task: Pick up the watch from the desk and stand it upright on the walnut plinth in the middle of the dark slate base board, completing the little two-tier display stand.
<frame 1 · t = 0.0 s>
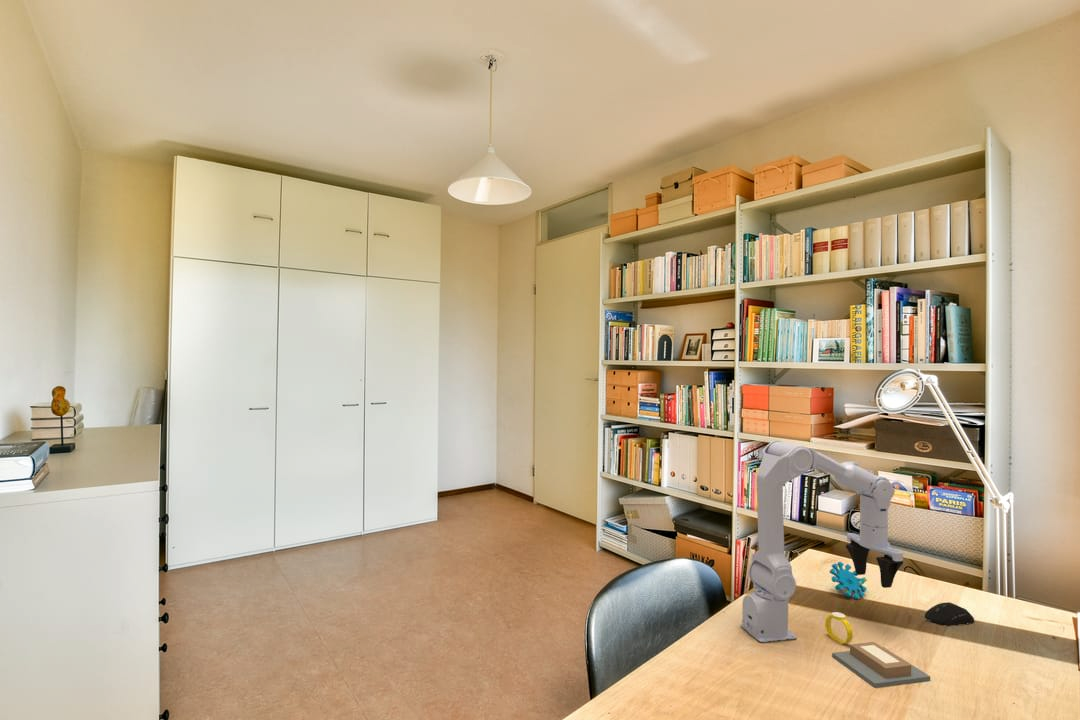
hand: (873, 580, 128), 10 cm above the table, tool pointing down, fingers open, 7 cm apart
gaming mouse: (944, 621, 130), on the table
watch: (838, 641, 119), on the table
base board: (879, 668, 108), on the table
blue virus model: (849, 594, 144), on the table
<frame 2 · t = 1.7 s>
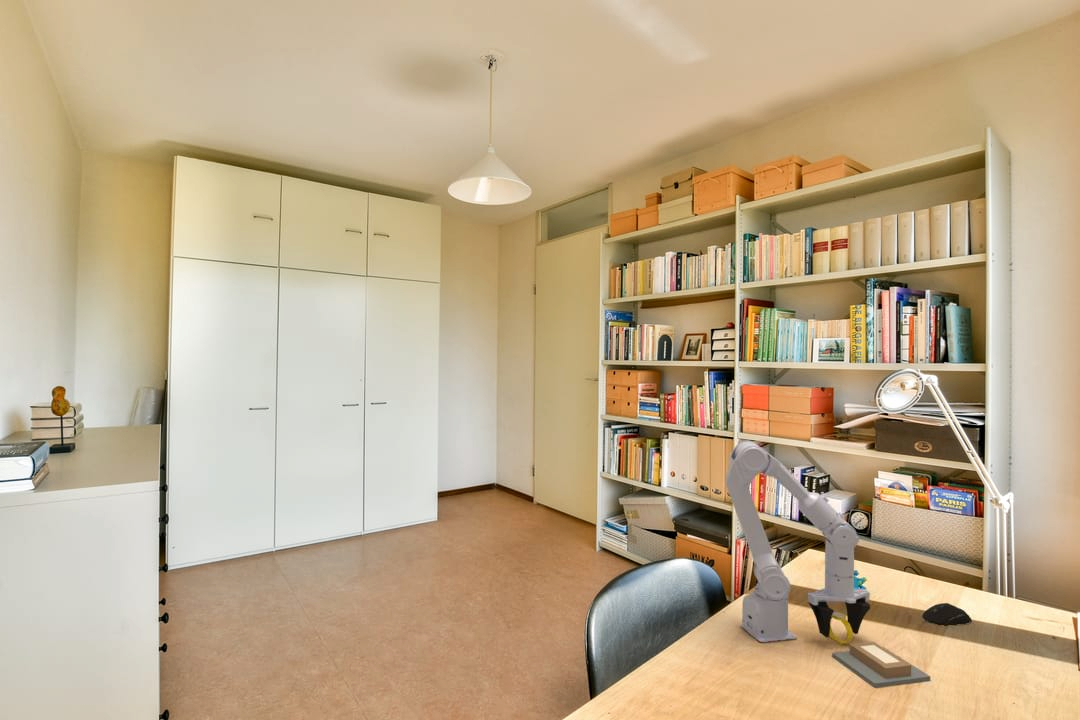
hand: (838, 633, 119), 2 cm above the table, tool pointing down, fingers open, 7 cm apart
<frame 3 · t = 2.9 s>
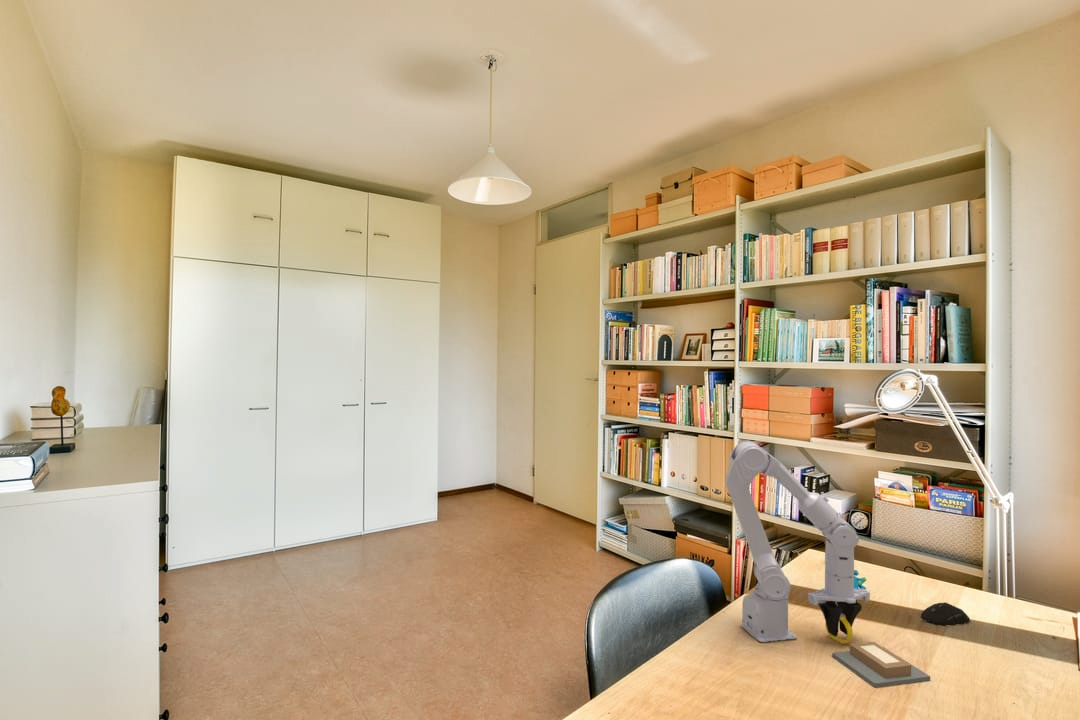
hand: (838, 633, 119), 2 cm above the table, tool pointing down, fingers closed on watch, 3 cm apart
watch: (838, 641, 119), on the table, touching gripper
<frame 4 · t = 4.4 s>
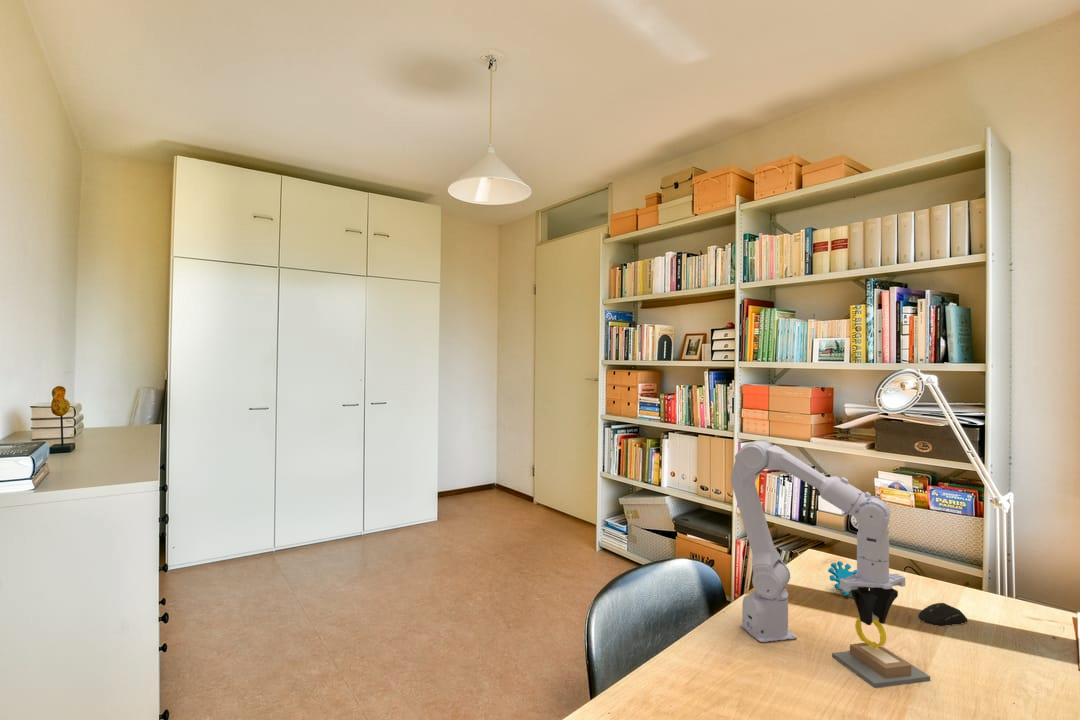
hand: (872, 622, 110), 8 cm above the table, tool pointing down, fingers closed on watch, 3 cm apart
watch: (869, 644, 111), point 3 cm above the table, touching gripper
when the fingers open (6 cm above the table, at t = 5.7 s): watch stays where it is, resting on base board.
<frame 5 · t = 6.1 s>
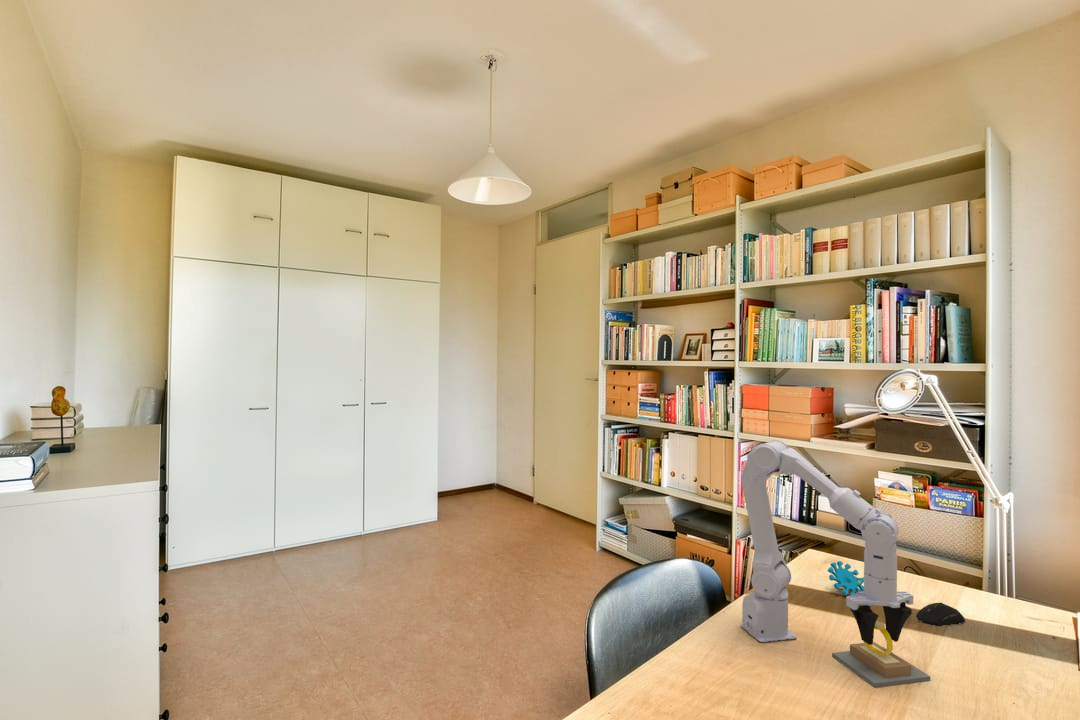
hand: (879, 640, 108), 6 cm above the table, tool pointing down, fingers open, 6 cm apart
watch: (876, 652, 109), point 3 cm above the table, touching base board
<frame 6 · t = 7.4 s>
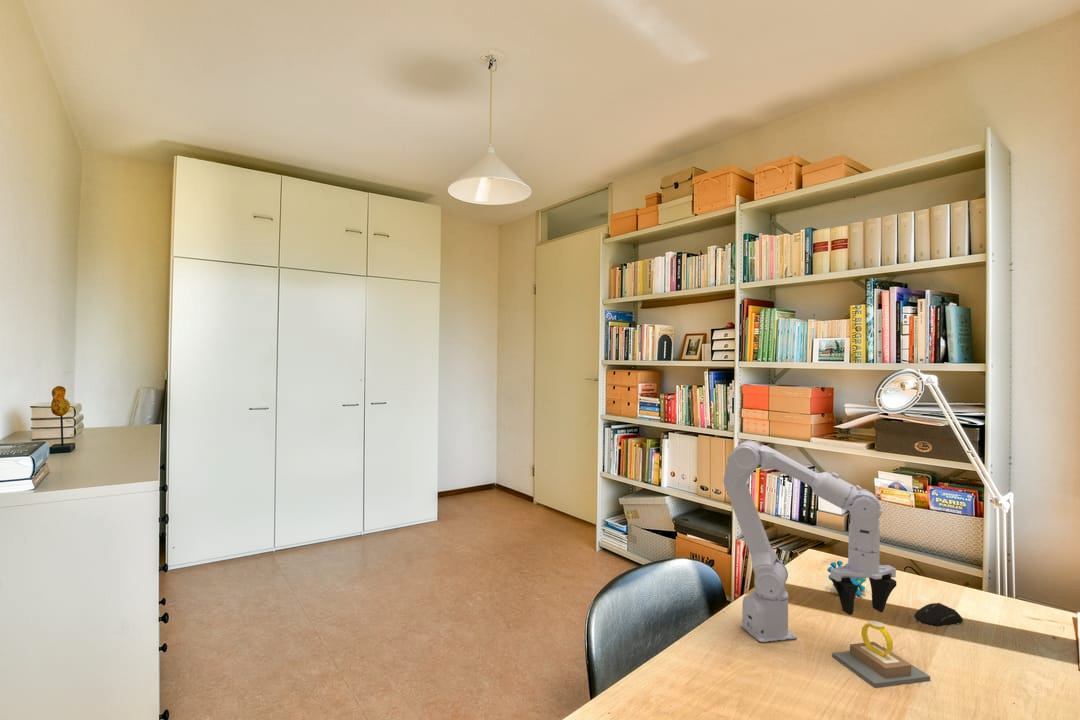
hand: (862, 611, 113), 9 cm above the table, tool pointing down, fingers open, 7 cm apart
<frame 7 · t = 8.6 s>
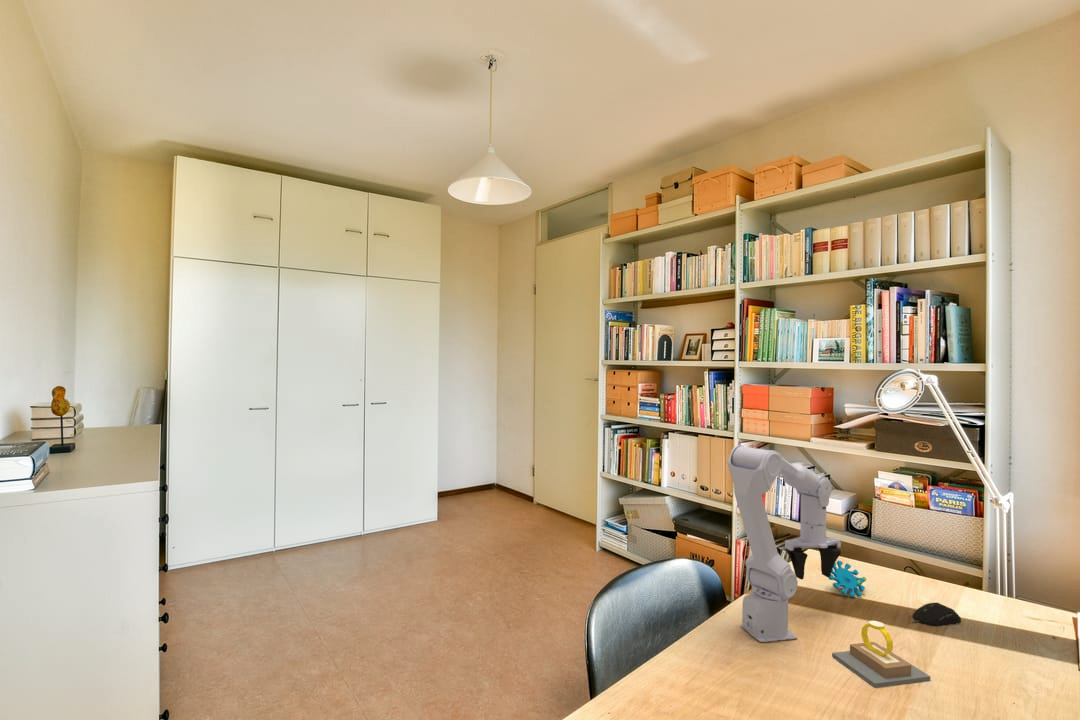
hand: (812, 576, 131), 9 cm above the table, tool pointing down, fingers open, 7 cm apart
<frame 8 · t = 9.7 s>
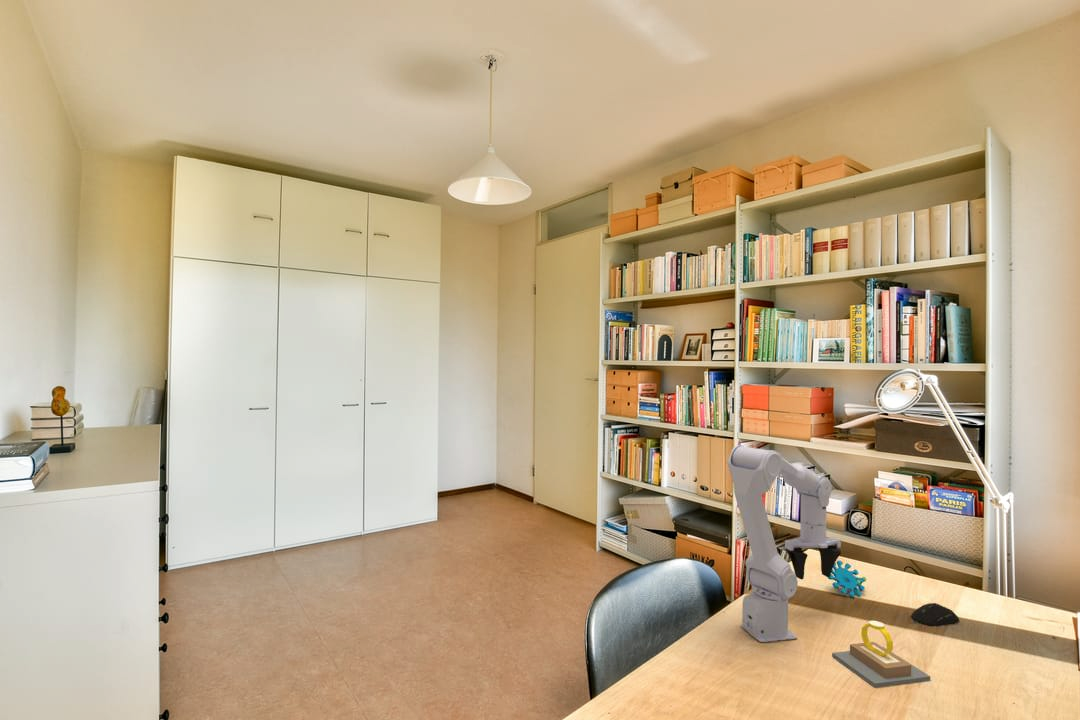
hand: (812, 576, 131), 9 cm above the table, tool pointing down, fingers open, 7 cm apart
at the end: watch 0.7 cm off-centre on the base board, point 2.7 cm above the base board's base; watch tilted 0°; the gripper is holding nothing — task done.
